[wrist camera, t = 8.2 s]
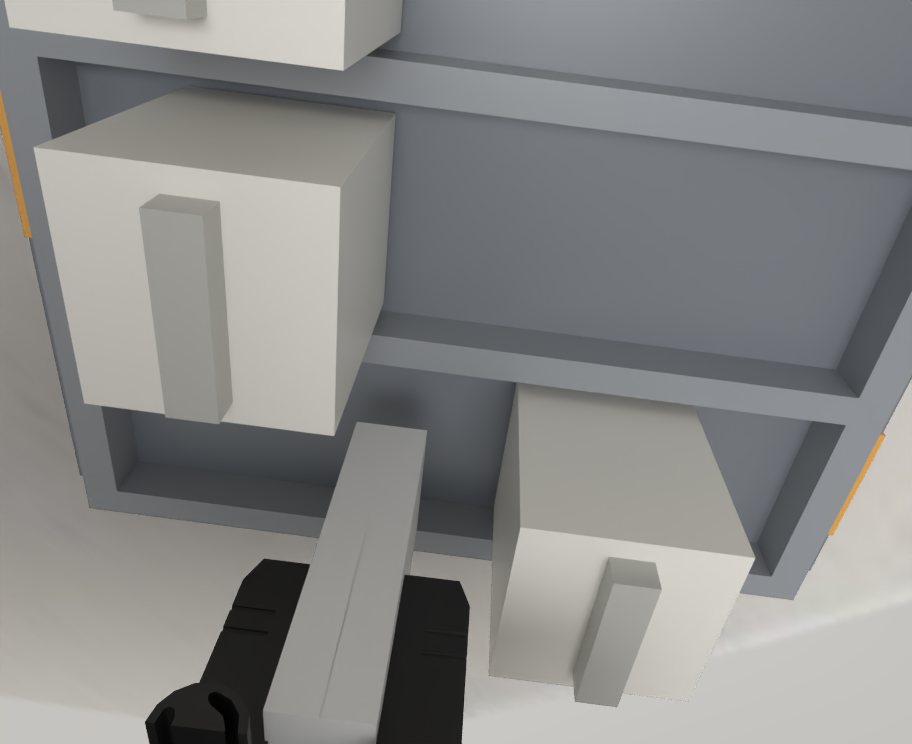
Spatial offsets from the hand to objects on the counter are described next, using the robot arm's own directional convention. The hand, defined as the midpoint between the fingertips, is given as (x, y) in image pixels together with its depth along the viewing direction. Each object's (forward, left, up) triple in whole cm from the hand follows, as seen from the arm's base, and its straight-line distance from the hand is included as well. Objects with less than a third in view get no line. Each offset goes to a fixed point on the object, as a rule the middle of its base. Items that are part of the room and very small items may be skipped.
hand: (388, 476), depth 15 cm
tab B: (-3, +5, -2) cm, 6 cm away
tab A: (+5, 0, -2) cm, 5 cm away
